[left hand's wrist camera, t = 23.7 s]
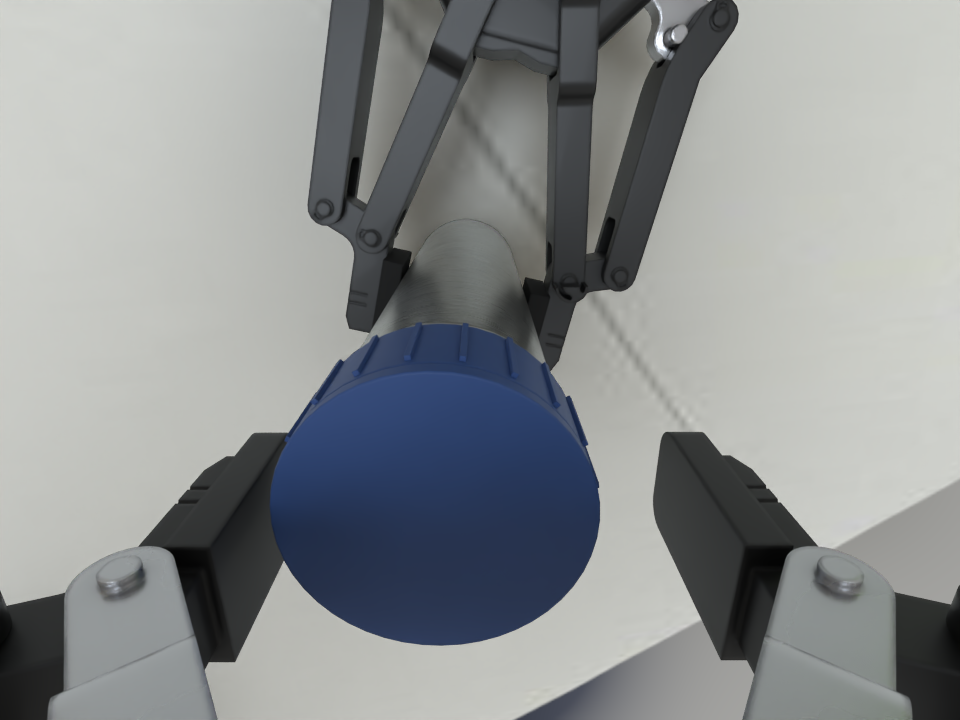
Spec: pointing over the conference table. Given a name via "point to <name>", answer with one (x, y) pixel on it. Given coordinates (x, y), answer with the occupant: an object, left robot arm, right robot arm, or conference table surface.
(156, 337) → the conference table surface
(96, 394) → the conference table surface
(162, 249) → the conference table surface
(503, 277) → the jar
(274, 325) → the conference table surface
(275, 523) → the lid
